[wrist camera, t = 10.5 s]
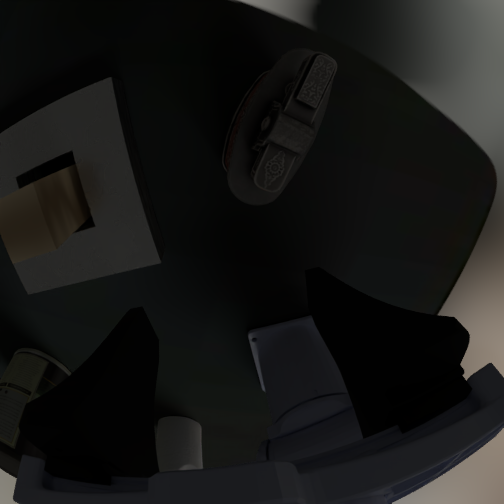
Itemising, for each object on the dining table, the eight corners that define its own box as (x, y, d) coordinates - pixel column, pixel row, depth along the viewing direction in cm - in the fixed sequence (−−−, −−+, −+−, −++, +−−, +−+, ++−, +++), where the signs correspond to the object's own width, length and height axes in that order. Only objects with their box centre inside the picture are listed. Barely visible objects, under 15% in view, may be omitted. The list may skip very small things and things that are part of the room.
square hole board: (165, 247, 22) (161, 262, 20) (40, 279, 21) (28, 294, 19) (122, 81, 16) (111, 76, 14) (-7, 145, 15) (-24, 150, 13)
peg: (96, 210, 20) (56, 249, 13) (57, 224, 20) (12, 263, 13) (82, 161, 18) (33, 182, 12) (42, 178, 18) (-10, 204, 12)
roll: (216, 505, 22) (190, 513, 23) (209, 424, 33) (187, 439, 34) (166, 497, 20) (145, 504, 21) (168, 410, 31) (149, 426, 32)
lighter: (255, 183, 21) (292, 236, 12) (211, 166, 20) (212, 206, 11) (301, 84, 18) (373, 62, 9) (257, 64, 17) (299, 19, 8)
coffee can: (90, 376, 27) (63, 484, 14) (74, 411, 30) (54, 496, 17) (15, 331, 23) (-36, 427, 11) (11, 375, 26) (-22, 455, 13)
